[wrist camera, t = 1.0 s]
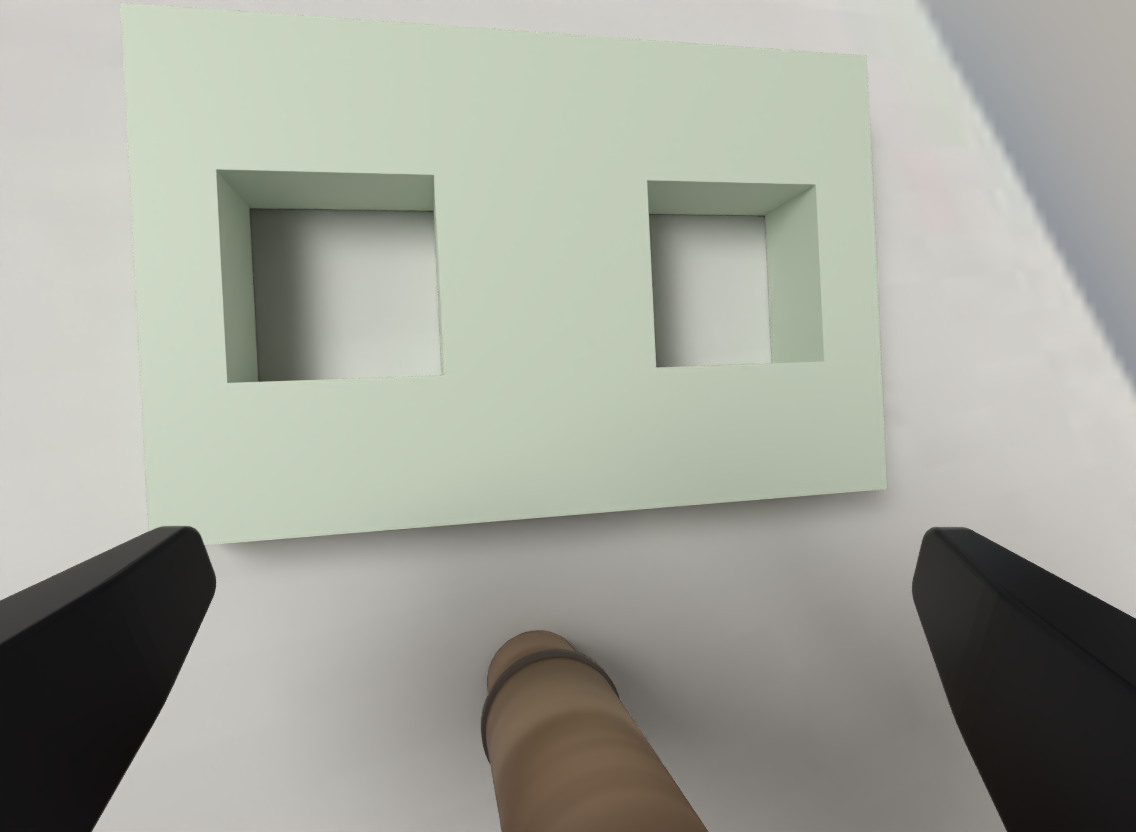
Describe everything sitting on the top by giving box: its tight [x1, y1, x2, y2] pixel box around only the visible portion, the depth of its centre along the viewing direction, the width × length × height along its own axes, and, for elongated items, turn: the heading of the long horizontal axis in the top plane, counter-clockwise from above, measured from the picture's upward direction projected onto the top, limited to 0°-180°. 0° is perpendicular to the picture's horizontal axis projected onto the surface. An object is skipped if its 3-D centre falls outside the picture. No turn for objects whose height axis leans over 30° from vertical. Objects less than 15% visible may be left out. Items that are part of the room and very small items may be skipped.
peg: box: [481, 631, 708, 832], centre depth 16 cm, size 4×4×10 cm
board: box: [120, 2, 887, 545], centre depth 19 cm, size 20×13×3 cm, turn 93°
